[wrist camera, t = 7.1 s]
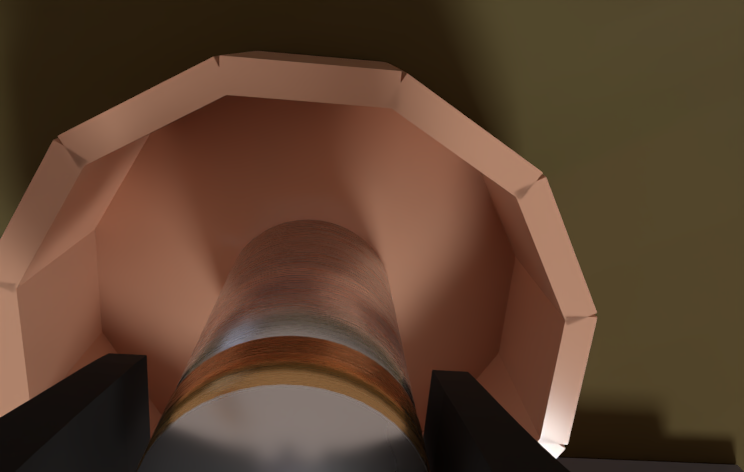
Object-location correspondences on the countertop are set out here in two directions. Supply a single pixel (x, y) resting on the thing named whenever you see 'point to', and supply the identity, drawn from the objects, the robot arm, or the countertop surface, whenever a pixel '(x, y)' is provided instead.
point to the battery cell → (295, 366)
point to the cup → (289, 203)
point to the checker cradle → (641, 466)
